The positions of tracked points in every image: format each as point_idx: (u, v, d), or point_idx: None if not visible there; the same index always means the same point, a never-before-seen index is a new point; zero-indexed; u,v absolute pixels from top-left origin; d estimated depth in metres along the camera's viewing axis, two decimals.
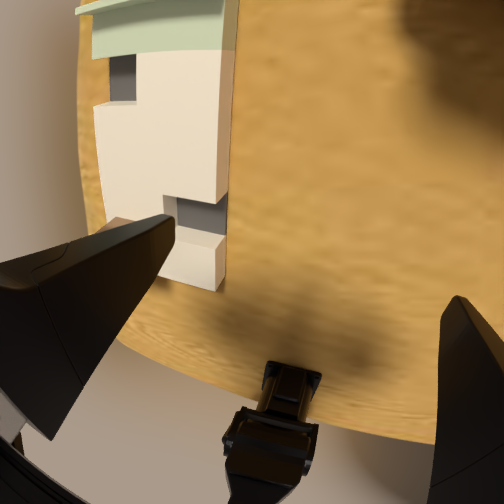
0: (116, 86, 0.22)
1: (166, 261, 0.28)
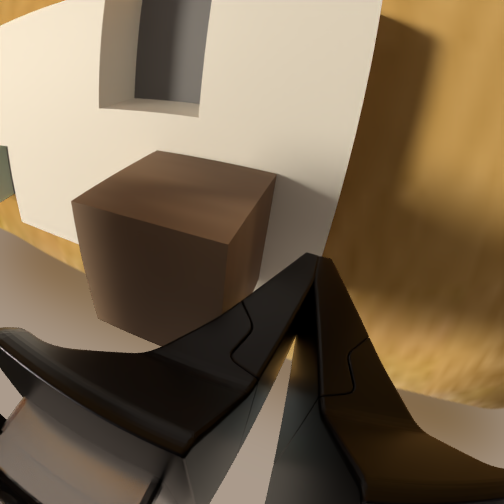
0: None
1: (280, 138, 0.08)
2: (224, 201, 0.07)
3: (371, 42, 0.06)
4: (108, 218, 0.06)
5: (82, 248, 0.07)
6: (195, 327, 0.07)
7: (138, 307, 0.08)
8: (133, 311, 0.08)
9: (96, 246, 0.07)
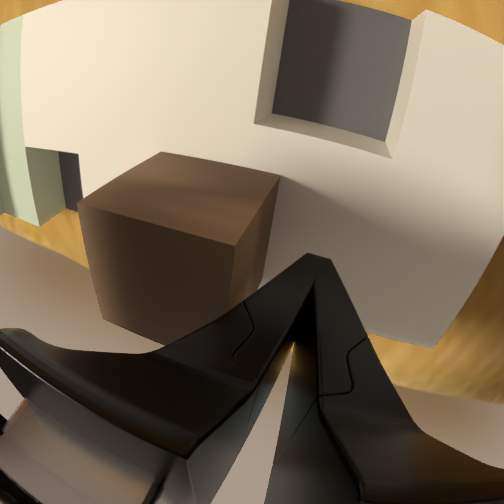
0: None
1: (466, 192, 0.08)
2: (229, 202, 0.07)
3: None
4: (114, 220, 0.07)
5: (88, 249, 0.07)
6: None
7: (143, 308, 0.08)
8: (139, 311, 0.08)
9: (102, 247, 0.07)
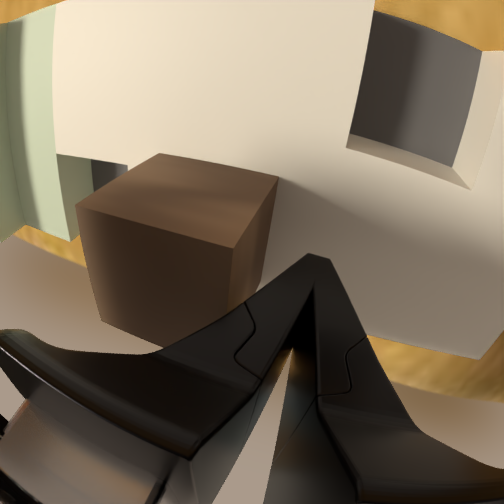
0: None
1: None
2: (228, 204, 0.07)
3: None
4: (112, 222, 0.07)
5: (86, 251, 0.07)
6: (199, 329, 0.08)
7: (142, 310, 0.08)
8: (137, 313, 0.08)
9: (100, 249, 0.07)
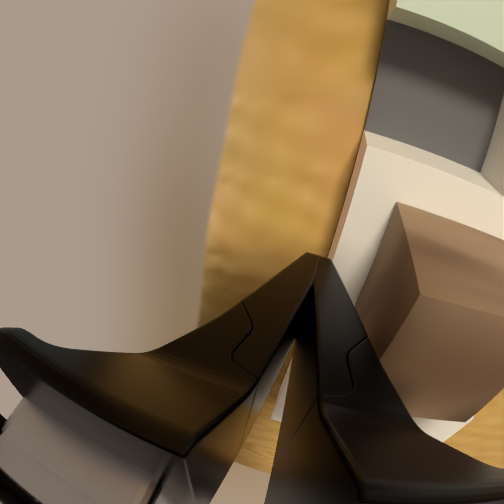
0: (395, 100, 0.09)
1: None
2: None
3: None
4: None
5: None
6: (403, 402, 0.07)
7: (434, 364, 0.06)
8: (430, 358, 0.06)
9: None
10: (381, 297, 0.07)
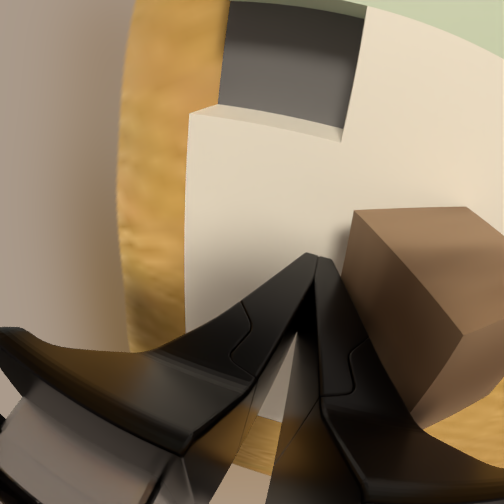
0: (242, 71, 0.10)
1: None
2: None
3: None
4: None
5: None
6: (437, 416, 0.06)
7: (467, 377, 0.05)
8: (464, 375, 0.05)
9: None
10: (380, 330, 0.06)
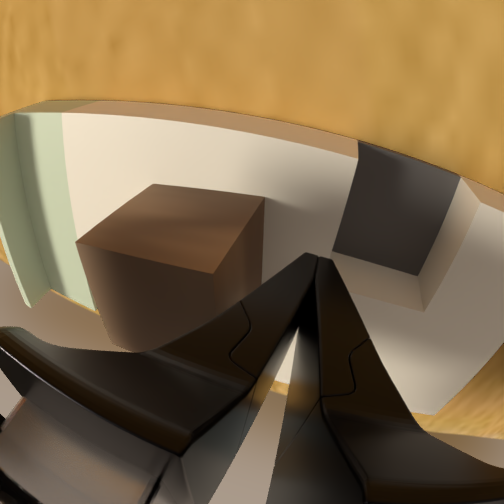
0: None
1: (473, 329, 0.10)
2: (212, 231, 0.08)
3: None
4: (109, 256, 0.07)
5: (90, 282, 0.08)
6: None
7: (145, 332, 0.09)
8: (141, 336, 0.09)
9: (102, 280, 0.08)
10: None
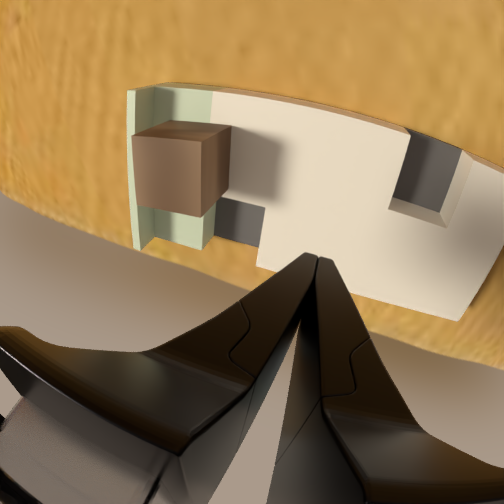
0: (248, 235, 0.23)
1: (478, 243, 0.16)
2: (202, 133, 0.15)
3: None
4: (150, 140, 0.15)
5: (134, 159, 0.15)
6: (189, 191, 0.15)
7: (160, 187, 0.16)
8: (158, 191, 0.16)
9: (142, 156, 0.15)
10: None
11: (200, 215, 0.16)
